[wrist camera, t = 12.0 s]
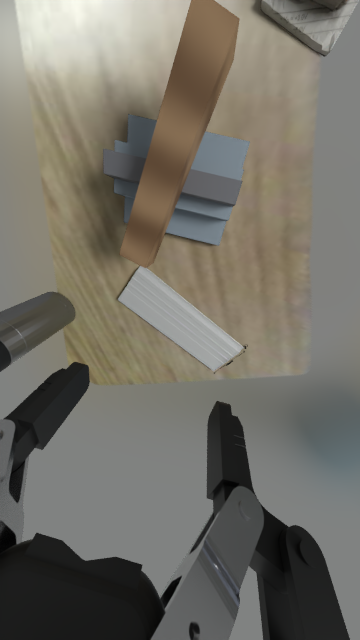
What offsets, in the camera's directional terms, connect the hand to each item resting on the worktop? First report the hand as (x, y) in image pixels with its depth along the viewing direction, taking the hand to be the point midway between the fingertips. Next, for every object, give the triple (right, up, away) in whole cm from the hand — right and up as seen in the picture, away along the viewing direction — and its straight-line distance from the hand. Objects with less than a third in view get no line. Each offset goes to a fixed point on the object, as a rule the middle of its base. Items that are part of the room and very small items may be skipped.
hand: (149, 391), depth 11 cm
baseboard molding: (+3, +4, +33) cm, 33 cm away
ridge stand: (+2, +27, +20) cm, 33 cm away
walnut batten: (+1, +23, +12) cm, 26 cm away
